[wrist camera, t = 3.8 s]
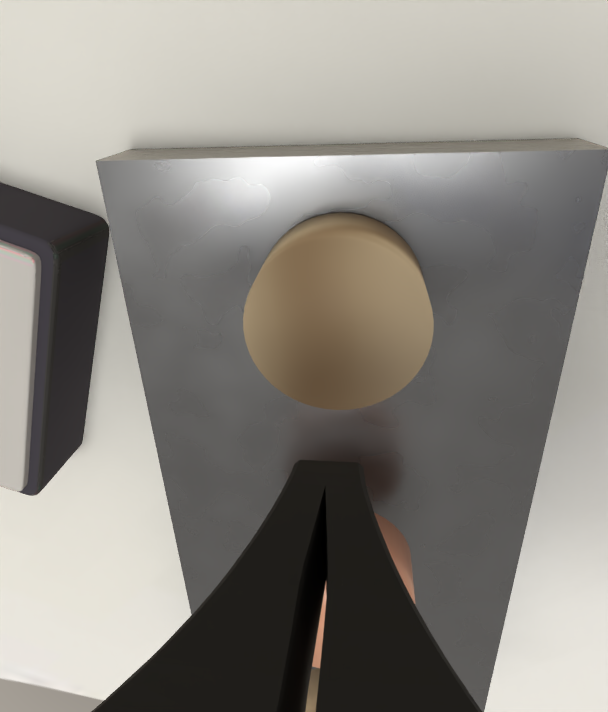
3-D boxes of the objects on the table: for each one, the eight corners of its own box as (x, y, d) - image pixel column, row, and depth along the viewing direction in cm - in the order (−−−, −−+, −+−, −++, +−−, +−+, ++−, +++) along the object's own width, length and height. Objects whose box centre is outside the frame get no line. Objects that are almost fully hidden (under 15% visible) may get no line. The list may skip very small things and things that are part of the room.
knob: (430, 211, 15) (442, 236, 12) (418, 368, 17) (426, 412, 15) (253, 213, 15) (234, 237, 13) (265, 365, 17) (251, 407, 15)
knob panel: (577, 138, 16) (612, 149, 14) (474, 661, 28) (483, 711, 26) (129, 149, 17) (95, 160, 15) (218, 642, 30) (207, 687, 27)
